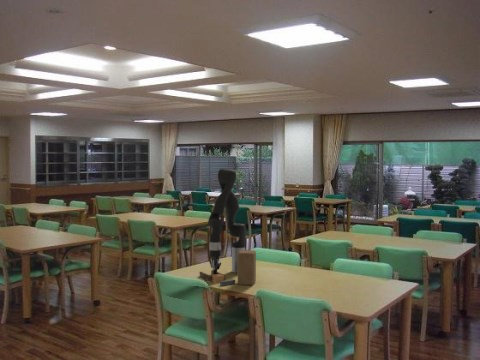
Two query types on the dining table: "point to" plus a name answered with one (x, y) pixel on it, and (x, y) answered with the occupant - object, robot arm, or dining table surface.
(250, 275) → the wooden block
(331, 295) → the dining table surface
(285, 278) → the dining table surface
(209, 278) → the walnut chute
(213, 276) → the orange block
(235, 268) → the robot arm
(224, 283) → the bar
